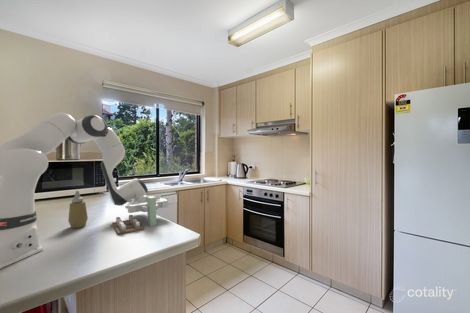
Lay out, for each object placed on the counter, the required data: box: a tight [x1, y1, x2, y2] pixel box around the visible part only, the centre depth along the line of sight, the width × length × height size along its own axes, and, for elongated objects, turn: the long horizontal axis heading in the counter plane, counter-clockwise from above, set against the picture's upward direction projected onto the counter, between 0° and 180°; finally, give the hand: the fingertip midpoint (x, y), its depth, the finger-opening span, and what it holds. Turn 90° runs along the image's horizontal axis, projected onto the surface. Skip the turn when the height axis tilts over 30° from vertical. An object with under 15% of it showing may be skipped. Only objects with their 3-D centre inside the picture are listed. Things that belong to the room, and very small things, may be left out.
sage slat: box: [146, 195, 158, 227], centre depth 112 cm, size 5×3×14 cm, turn 36°
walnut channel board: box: [111, 214, 145, 236], centre depth 108 cm, size 18×11×4 cm, turn 36°
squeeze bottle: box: [67, 190, 89, 229], centre depth 111 cm, size 8×8×18 cm
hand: (152, 208), depth 111 cm, fingers closed on sage slat, 3 cm apart
